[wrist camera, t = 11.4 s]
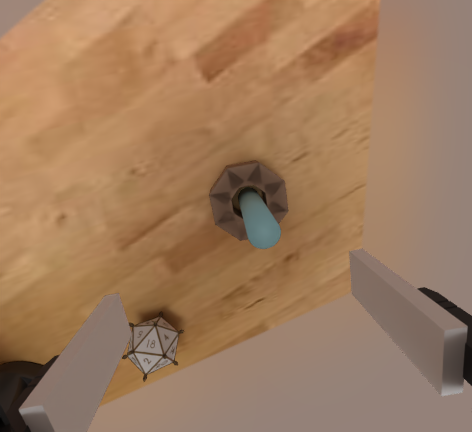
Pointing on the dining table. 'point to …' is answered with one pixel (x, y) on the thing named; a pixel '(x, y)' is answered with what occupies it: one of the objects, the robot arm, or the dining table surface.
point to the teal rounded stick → (258, 219)
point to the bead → (242, 177)
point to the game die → (153, 345)
